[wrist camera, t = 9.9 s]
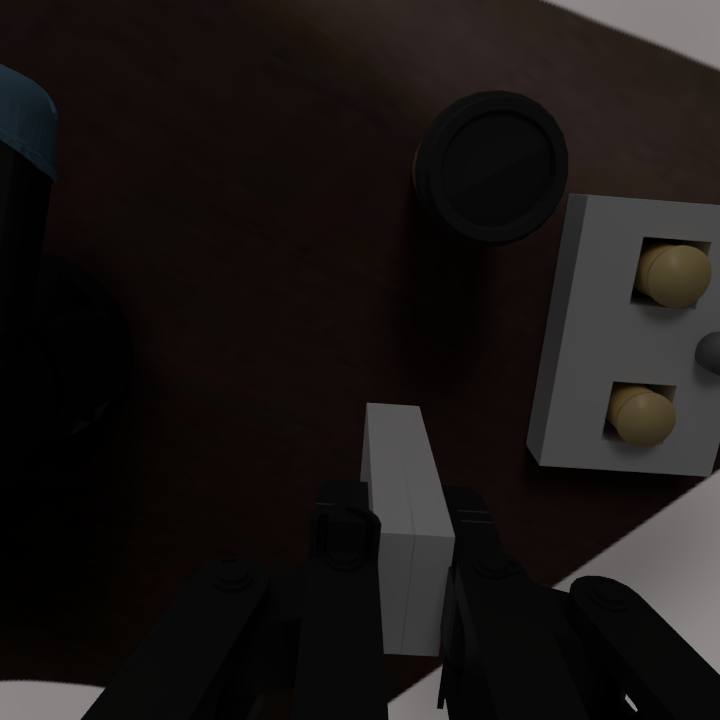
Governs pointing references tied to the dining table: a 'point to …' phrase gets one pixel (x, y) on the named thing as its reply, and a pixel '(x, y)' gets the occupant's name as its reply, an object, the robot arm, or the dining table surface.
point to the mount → (627, 341)
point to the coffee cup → (491, 168)
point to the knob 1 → (672, 274)
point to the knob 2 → (640, 414)
